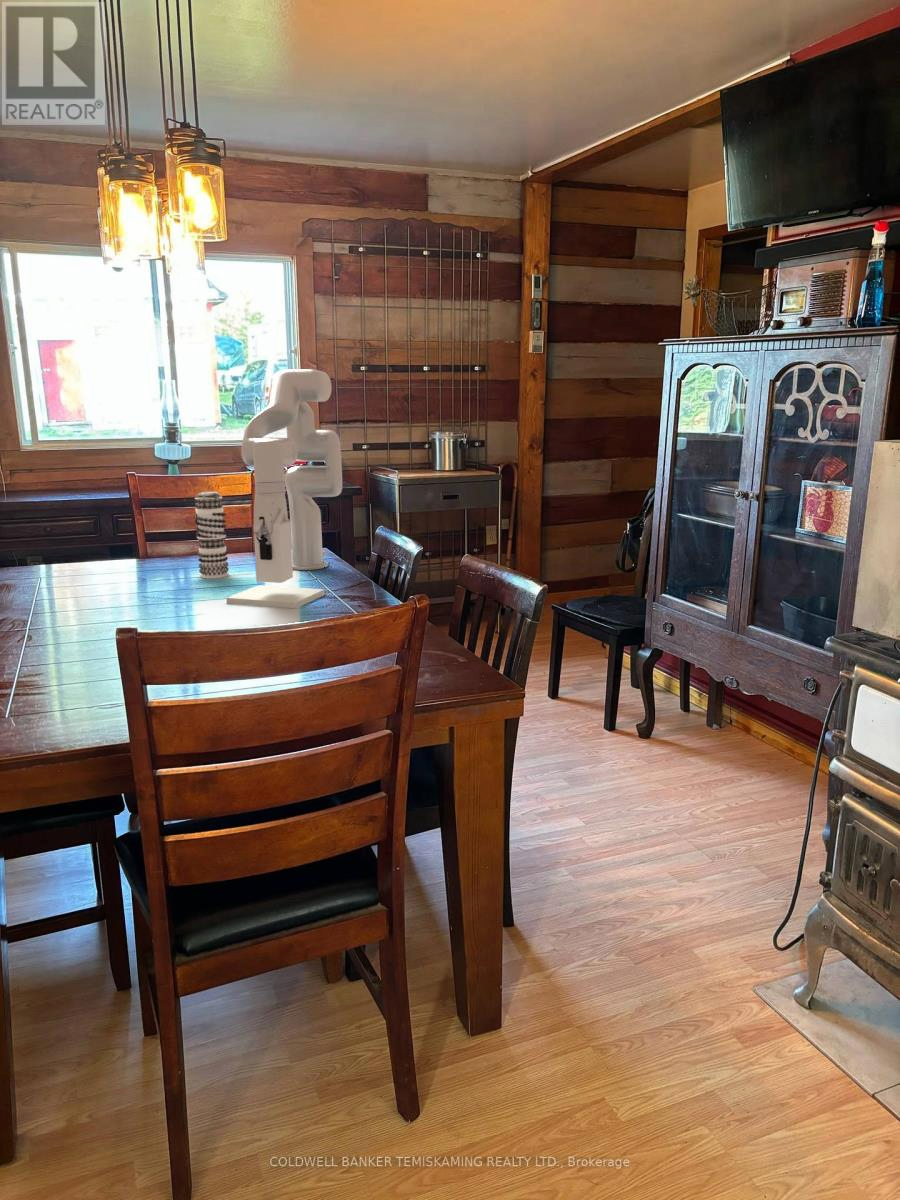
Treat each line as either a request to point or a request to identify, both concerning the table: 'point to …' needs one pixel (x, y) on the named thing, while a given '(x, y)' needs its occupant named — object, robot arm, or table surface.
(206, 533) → the decorative candle
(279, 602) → the serving board
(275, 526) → the milk carton
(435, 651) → the table surface
